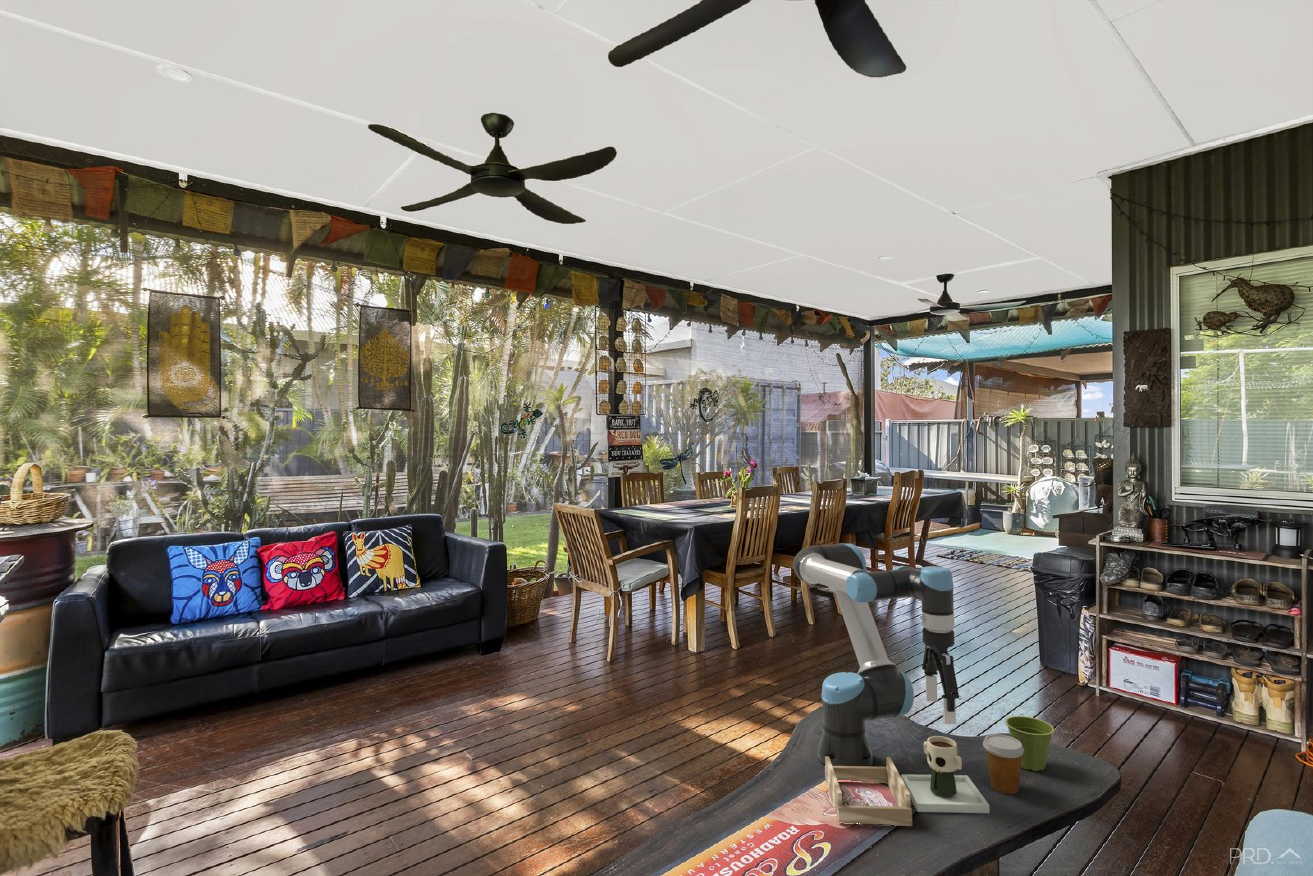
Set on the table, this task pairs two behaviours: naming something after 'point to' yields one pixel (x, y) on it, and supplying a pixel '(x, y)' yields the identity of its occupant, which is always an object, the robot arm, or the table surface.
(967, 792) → the tray
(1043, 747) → the plant pot
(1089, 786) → the table surface
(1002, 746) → the disposable coffee cup
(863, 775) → the wooden frame
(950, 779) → the character mug
